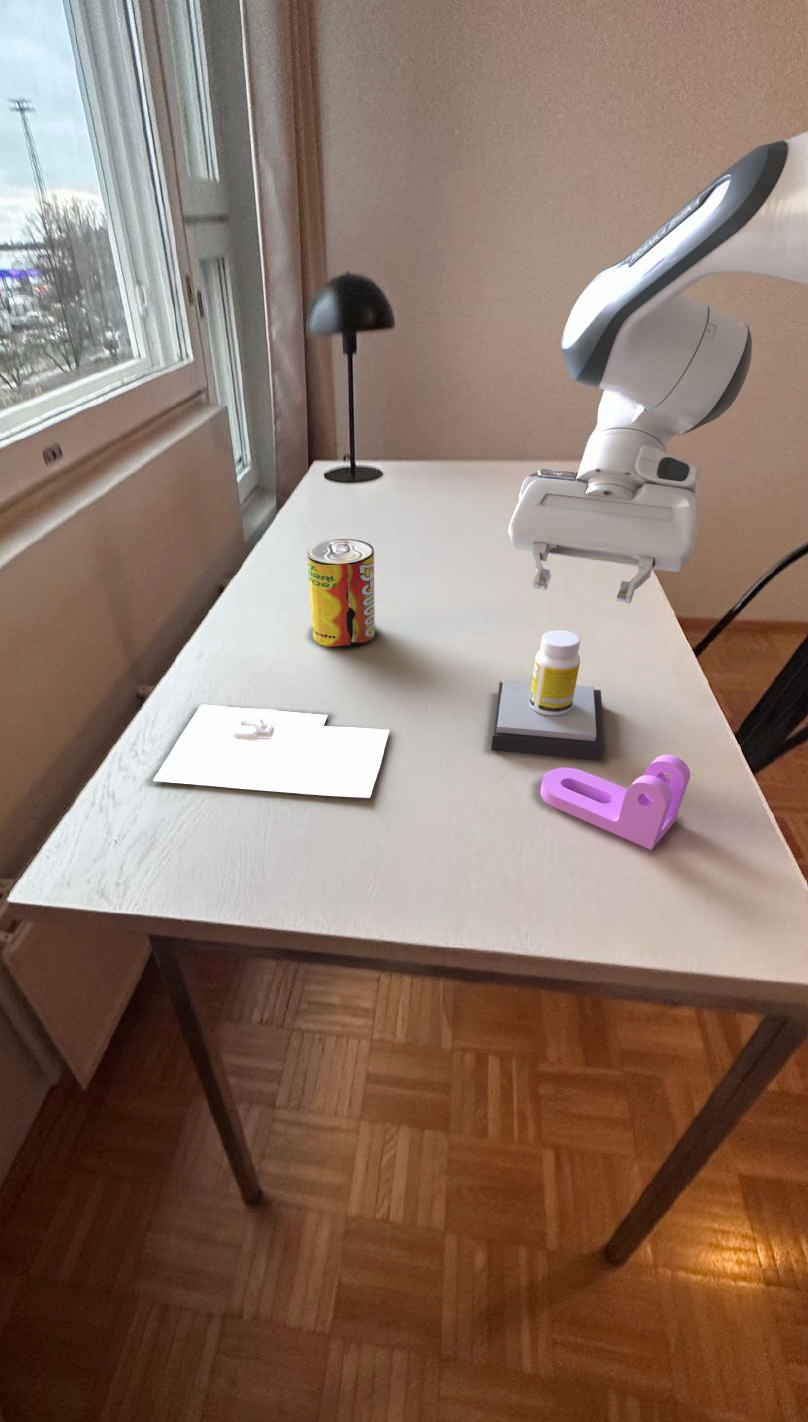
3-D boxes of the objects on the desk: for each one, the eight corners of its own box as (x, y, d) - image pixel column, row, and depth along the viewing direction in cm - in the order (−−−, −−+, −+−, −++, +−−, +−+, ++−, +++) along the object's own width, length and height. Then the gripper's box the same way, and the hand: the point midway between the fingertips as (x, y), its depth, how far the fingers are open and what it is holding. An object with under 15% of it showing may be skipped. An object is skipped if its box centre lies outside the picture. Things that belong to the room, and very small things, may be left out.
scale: (597, 704, 89) (602, 683, 87) (601, 760, 80) (606, 739, 79) (497, 696, 91) (500, 676, 90) (490, 750, 83) (493, 729, 81)
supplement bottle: (580, 708, 83) (593, 640, 78) (549, 721, 82) (561, 652, 76) (550, 690, 87) (561, 624, 81) (520, 703, 85) (529, 635, 79)
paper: (149, 788, 80) (147, 780, 79) (195, 705, 92) (193, 697, 92) (377, 801, 76) (377, 793, 76) (392, 713, 89) (392, 706, 88)
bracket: (675, 820, 72) (694, 763, 68) (651, 850, 69) (670, 792, 65) (557, 771, 79) (567, 716, 75) (530, 796, 76) (539, 741, 72)
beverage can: (318, 651, 102) (313, 566, 94) (308, 624, 109) (302, 542, 101) (381, 643, 103) (380, 559, 96) (367, 616, 110) (365, 535, 102)
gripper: (524, 452, 84) (487, 567, 84) (716, 470, 76) (676, 596, 76) (530, 482, 89) (496, 590, 89) (709, 502, 82) (672, 619, 82)
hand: (580, 593), depth 83 cm, fingers open, 8 cm apart
